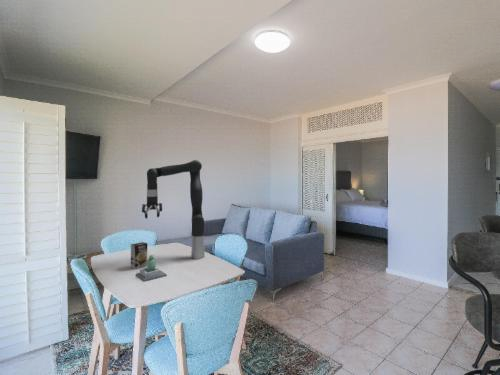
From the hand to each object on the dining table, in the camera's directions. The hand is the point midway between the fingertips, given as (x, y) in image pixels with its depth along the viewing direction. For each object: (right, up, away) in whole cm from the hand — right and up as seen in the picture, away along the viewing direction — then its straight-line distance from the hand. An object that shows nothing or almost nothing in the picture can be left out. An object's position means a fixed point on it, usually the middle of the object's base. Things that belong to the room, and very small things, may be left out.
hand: (152, 217), depth 195 cm
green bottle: (+10, -32, -27) cm, 43 cm away
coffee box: (-5, -33, -12) cm, 35 cm away
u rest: (+9, -33, -27) cm, 44 cm away
